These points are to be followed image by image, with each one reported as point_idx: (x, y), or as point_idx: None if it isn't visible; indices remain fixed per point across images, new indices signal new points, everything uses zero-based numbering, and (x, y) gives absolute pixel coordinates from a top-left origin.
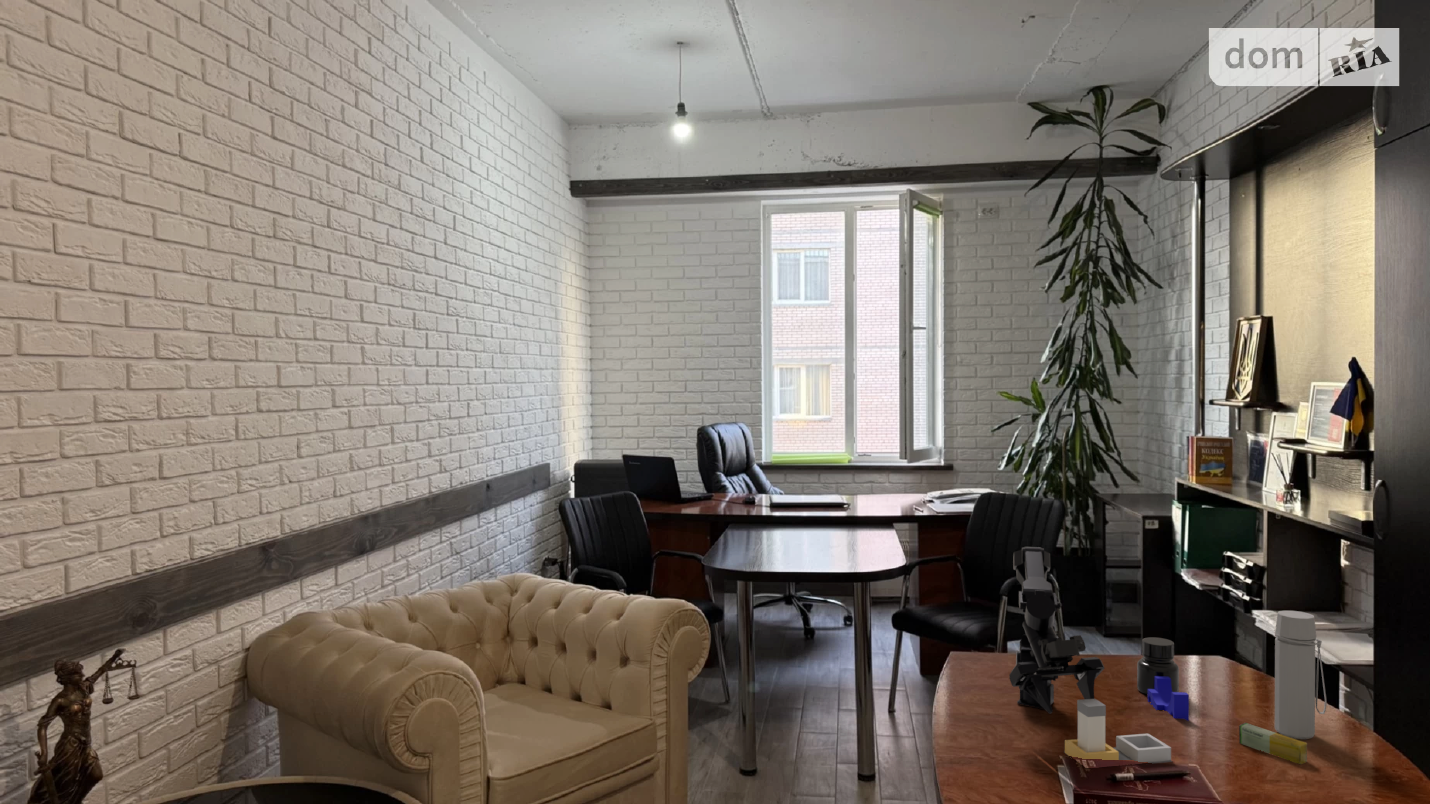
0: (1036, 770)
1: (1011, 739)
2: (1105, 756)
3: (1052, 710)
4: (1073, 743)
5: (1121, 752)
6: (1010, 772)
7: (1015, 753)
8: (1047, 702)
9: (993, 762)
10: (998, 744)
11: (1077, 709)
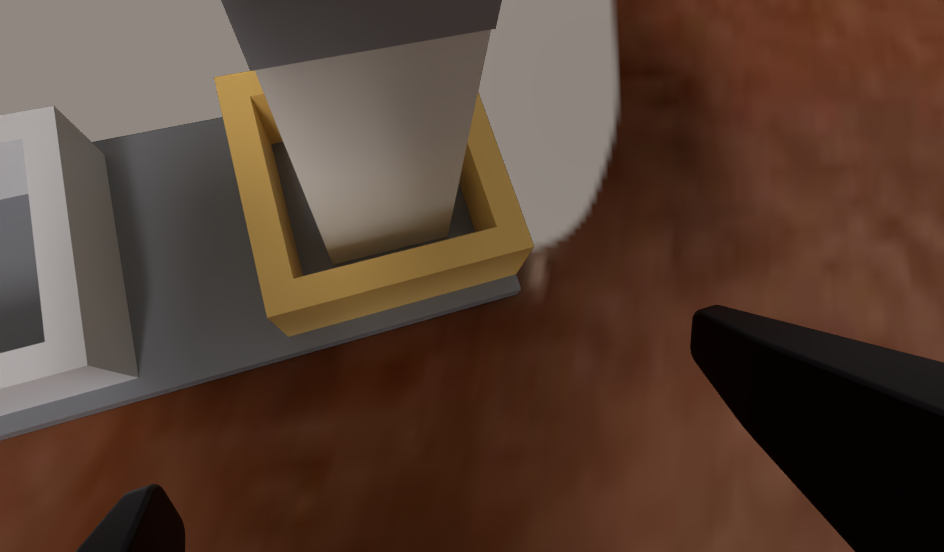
0: (685, 97)
1: (808, 516)
2: None
3: (701, 313)
4: (486, 195)
5: (131, 310)
6: (801, 73)
7: (781, 291)
8: (808, 335)
9: (881, 172)
10: None
11: (496, 15)
